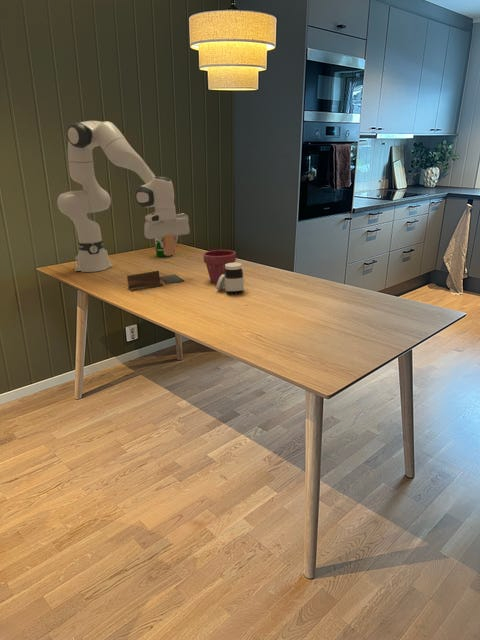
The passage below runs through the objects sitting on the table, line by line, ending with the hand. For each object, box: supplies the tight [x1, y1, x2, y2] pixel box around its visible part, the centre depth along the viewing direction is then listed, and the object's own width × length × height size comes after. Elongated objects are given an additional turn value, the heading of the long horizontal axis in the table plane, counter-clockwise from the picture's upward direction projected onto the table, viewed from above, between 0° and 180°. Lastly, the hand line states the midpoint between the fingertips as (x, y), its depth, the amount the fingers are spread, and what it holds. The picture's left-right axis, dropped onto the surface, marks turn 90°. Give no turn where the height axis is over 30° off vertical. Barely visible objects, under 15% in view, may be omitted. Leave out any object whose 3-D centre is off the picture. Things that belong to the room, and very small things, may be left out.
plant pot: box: [203, 249, 237, 284], centre depth 209 cm, size 14×14×13 cm
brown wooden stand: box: [126, 270, 164, 292], centre depth 205 cm, size 5×14×6 cm, turn 118°
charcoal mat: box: [160, 273, 185, 285], centre depth 216 cm, size 12×8×1 cm, turn 28°
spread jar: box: [215, 262, 245, 295], centre depth 194 cm, size 12×11×12 cm
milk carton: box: [154, 238, 172, 258], centre depth 260 cm, size 9×9×20 cm
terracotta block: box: [162, 234, 176, 256], centre depth 210 cm, size 4×4×9 cm
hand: (168, 246), depth 211 cm, fingers closed on terracotta block, 4 cm apart
